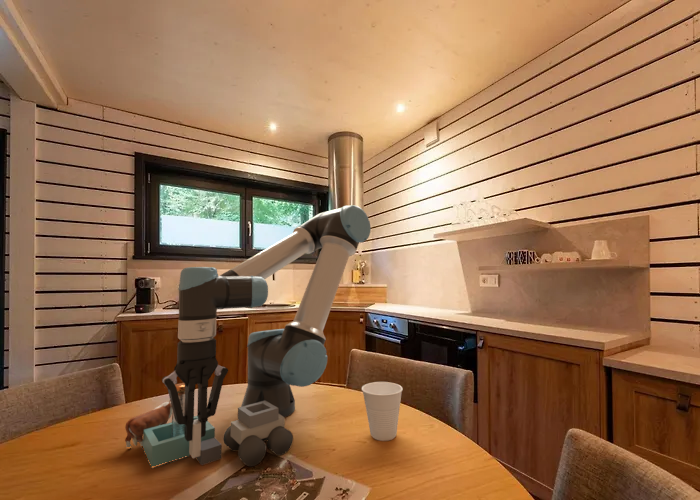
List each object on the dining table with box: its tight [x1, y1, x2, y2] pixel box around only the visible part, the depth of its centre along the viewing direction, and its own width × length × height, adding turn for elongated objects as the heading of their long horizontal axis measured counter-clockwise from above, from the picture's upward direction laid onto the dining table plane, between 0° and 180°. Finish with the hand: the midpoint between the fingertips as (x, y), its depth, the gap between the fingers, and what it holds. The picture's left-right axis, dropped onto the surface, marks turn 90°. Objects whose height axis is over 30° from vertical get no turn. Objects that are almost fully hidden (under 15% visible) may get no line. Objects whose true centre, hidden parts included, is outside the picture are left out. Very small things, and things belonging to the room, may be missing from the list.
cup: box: [361, 381, 404, 442], centre depth 79 cm, size 10×10×11 cm
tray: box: [142, 415, 216, 468], centre depth 75 cm, size 10×12×4 cm
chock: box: [195, 436, 222, 466], centre depth 70 cm, size 4×4×3 cm
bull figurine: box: [124, 400, 172, 448], centre depth 79 cm, size 4×13×8 cm, turn 153°
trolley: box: [223, 401, 294, 467], centre depth 73 cm, size 11×11×9 cm
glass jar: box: [171, 382, 185, 438], centre depth 75 cm, size 4×4×13 cm
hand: (194, 454), depth 69 cm, fingers closed
